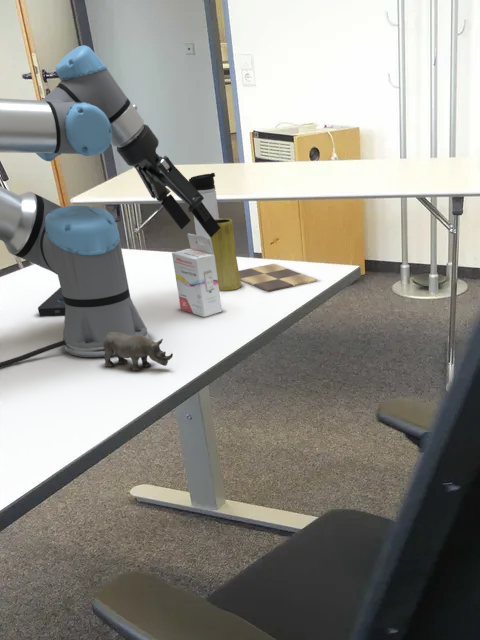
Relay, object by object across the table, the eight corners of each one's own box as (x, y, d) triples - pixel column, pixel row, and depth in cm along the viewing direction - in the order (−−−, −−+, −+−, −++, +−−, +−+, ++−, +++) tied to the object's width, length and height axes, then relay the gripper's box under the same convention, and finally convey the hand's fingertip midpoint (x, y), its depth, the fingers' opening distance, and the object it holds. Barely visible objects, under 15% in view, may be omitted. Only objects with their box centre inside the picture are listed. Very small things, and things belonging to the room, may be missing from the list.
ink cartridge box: (179, 310, 160) (167, 236, 152) (198, 304, 163) (187, 232, 155) (204, 317, 155) (193, 242, 147) (223, 311, 158) (213, 237, 150)
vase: (244, 283, 176) (236, 217, 168) (238, 290, 171) (230, 223, 163) (218, 283, 177) (209, 218, 169) (211, 290, 172) (202, 223, 164)
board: (268, 291, 170) (268, 290, 169) (227, 274, 183) (227, 273, 183) (316, 281, 176) (316, 279, 176) (273, 265, 189) (273, 263, 189)
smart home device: (35, 308, 158) (64, 282, 175) (37, 316, 159) (66, 289, 176) (75, 306, 158) (100, 280, 175) (77, 314, 159) (102, 288, 176)
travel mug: (223, 260, 195) (212, 175, 183) (197, 261, 195) (185, 176, 184) (226, 254, 200) (216, 171, 189) (202, 255, 200) (190, 172, 189)
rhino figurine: (168, 376, 129) (161, 341, 125) (101, 367, 133) (93, 334, 130) (181, 367, 132) (175, 333, 128) (115, 359, 136) (108, 326, 133)
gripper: (172, 123, 134) (241, 222, 149) (119, 120, 151) (186, 209, 166) (142, 152, 133) (215, 249, 148) (93, 146, 150) (162, 233, 165)
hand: (200, 228), depth 157 cm, fingers open, 13 cm apart
